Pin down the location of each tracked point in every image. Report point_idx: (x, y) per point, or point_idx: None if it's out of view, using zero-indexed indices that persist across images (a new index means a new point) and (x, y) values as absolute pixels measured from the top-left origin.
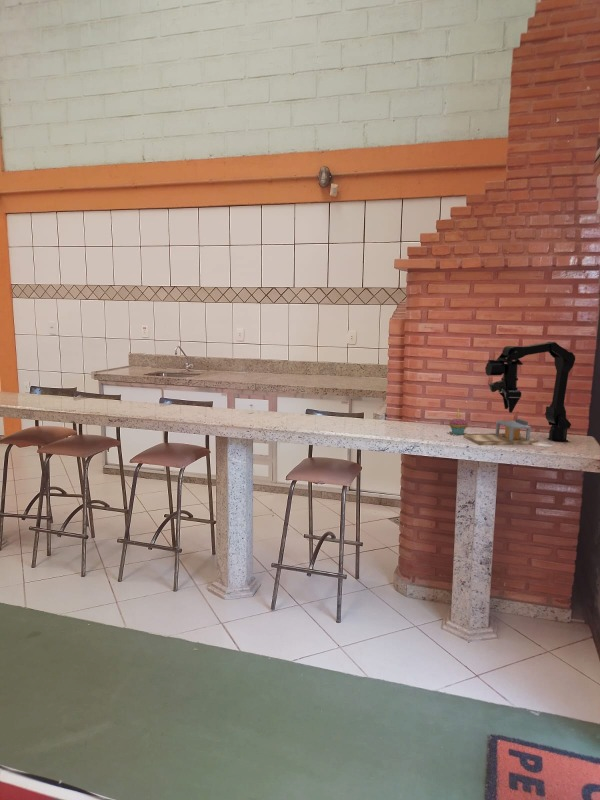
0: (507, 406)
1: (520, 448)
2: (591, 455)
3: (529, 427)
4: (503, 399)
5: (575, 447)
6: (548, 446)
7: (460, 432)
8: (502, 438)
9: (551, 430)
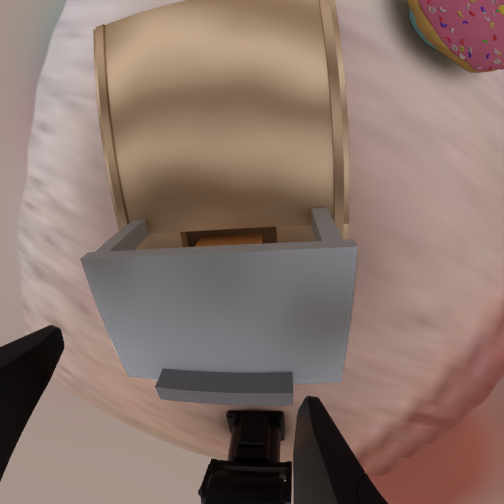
0: (298, 437)
1: (73, 230)
2: (66, 387)
3: (126, 364)
4: (340, 502)
5: (153, 414)
6: (115, 349)
7: (411, 12)
8: (200, 201)
9: (248, 442)
